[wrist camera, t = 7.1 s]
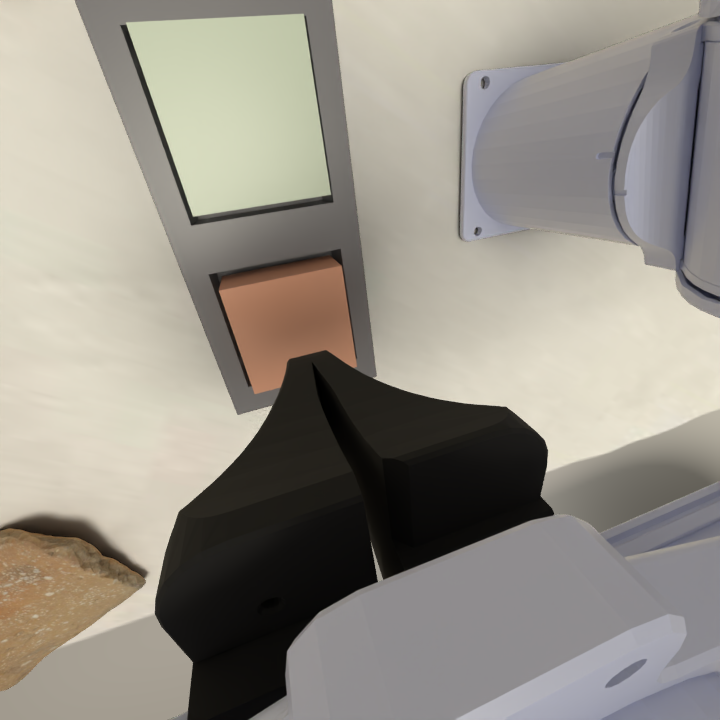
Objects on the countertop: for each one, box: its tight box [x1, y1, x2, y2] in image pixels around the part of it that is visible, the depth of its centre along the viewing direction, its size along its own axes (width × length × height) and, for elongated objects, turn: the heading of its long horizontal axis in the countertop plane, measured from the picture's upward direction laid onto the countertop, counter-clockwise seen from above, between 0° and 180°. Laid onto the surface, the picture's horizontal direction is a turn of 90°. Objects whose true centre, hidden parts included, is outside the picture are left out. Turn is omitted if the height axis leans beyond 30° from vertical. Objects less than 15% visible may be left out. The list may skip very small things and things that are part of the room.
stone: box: [0, 528, 146, 691], centre depth 22 cm, size 11×16×3 cm
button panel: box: [75, 0, 376, 415], centre depth 16 cm, size 8×17×3 cm, turn 7°
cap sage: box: [126, 14, 331, 217], centre depth 12 cm, size 5×5×2 cm
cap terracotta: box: [219, 255, 357, 394], centre depth 16 cm, size 5×5×2 cm
